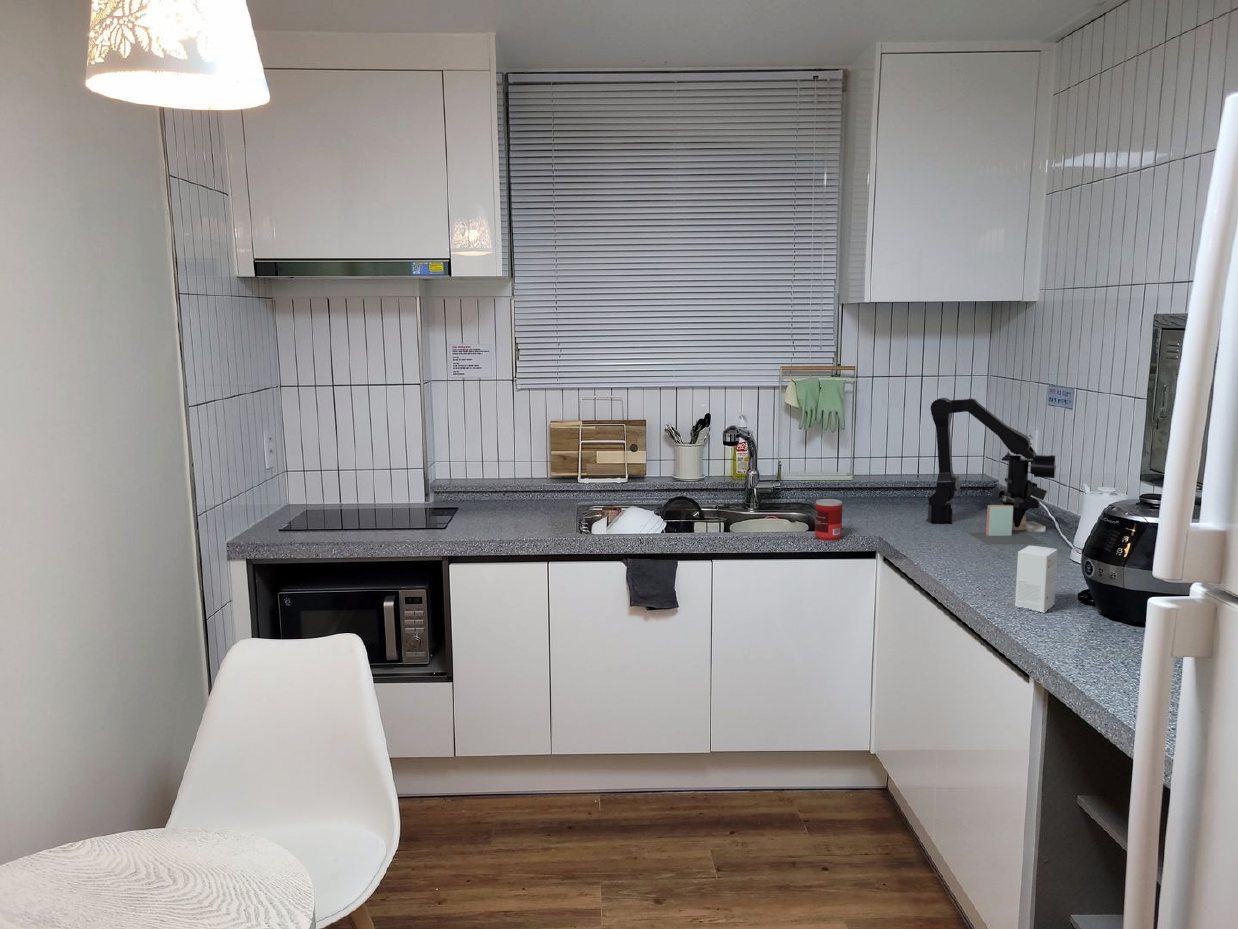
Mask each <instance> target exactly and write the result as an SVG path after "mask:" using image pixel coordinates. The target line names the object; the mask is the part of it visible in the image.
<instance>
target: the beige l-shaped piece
mask: <svg viewBox="0 0 1238 929" xmlns="http://www.w3.org/2000/svg"><path fill="white" fill-rule="evenodd" d="M1012 531H1026V532H1028V533H1039V532H1040V533H1043V532H1044V533H1045V532H1046V526H1045V525H1042V524H1040V523H1038V522H1036V521H1035V520H1034V521H1032V520H1029V521H1028V520H1027V514H1024V516H1023V519H1022V521H1021V524H1020V526H1019V527H1015V525H1014V522H1012Z"/></svg>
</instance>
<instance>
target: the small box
mask: <svg viewBox="0 0 1238 929" xmlns="http://www.w3.org/2000/svg"><path fill="white" fill-rule="evenodd" d="M1058 552H1059V551H1058V548H1053V547H1052V548H1051V547H1046V546H1040V545H1039V546H1037V545H1032V544H1028V545H1026V547H1024V548H1022V549H1020V550H1019V551H1017V559H1016V560H1017V562H1016V564H1017V565H1016V566H1017V567H1016V579H1015V580H1016V581H1015V598H1014V602H1015V604H1014V607H1015V606H1017V607H1024V608H1029V609H1032V610H1036V611H1040V612H1043V613H1044V614H1045V613H1046V612H1047V610H1048V609H1049V610H1050V609H1051V608H1053V607H1054V606H1055V598H1056V597H1055V596H1056V582H1057V580H1056V579H1057V566H1058V564H1057V563H1058ZM1053 605H1054V606H1053ZM1049 610H1048V611H1049ZM1043 613H1042V614H1043Z"/></svg>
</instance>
